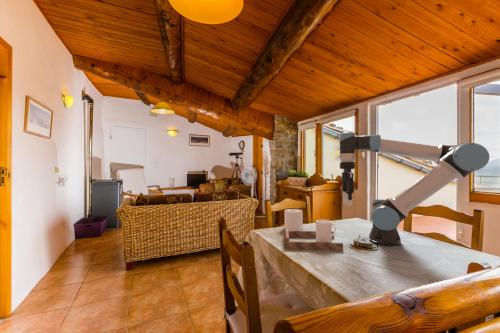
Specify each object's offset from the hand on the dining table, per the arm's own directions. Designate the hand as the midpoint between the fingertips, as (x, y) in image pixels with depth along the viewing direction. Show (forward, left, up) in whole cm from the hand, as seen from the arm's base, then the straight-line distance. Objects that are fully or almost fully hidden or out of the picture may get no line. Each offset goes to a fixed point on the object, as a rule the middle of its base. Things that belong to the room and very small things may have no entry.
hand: (347, 204), depth 126 cm
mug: (+11, 0, -21) cm, 24 cm away
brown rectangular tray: (+19, 0, -21) cm, 28 cm away
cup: (+27, -27, -21) cm, 44 cm away
